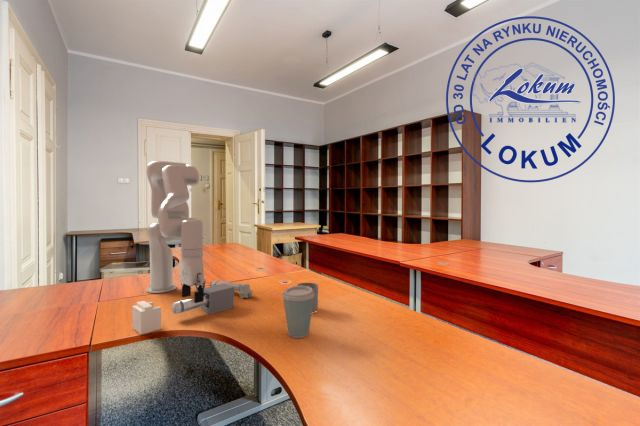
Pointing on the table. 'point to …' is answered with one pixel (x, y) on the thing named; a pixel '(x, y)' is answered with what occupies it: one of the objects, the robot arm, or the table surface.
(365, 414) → the table surface
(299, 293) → the disposable coffee cup
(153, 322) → the socket
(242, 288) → the grey stepped bar
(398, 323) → the table surface
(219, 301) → the grey rectangular box
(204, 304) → the tube
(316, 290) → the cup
